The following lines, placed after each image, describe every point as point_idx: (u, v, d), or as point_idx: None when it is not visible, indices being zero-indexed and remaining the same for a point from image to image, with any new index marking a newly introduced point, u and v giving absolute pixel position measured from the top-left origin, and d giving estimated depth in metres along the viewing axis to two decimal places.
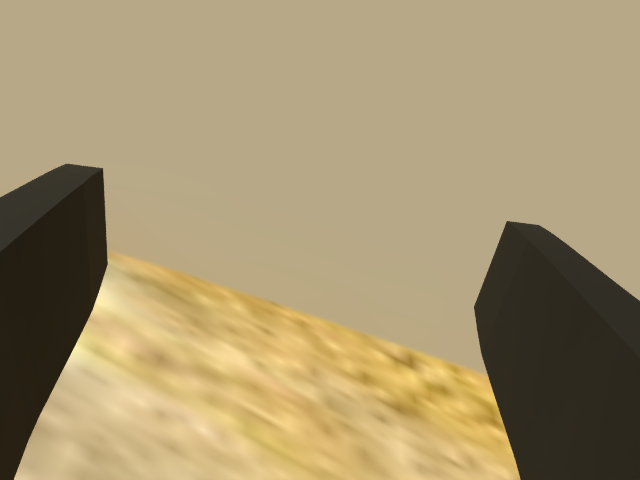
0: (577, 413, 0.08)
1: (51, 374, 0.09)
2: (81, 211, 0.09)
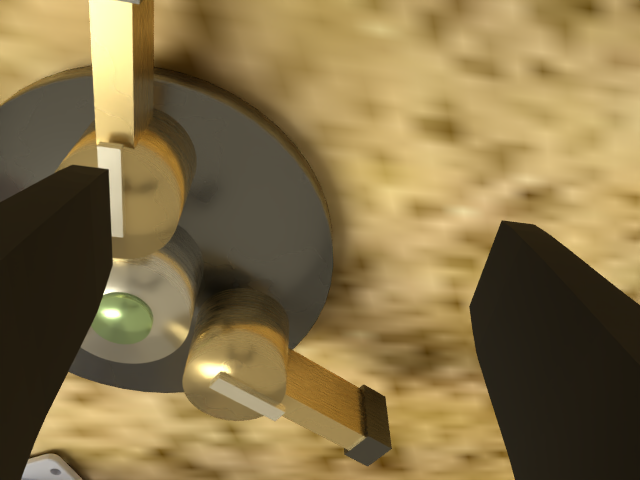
0: (570, 413, 0.08)
1: (57, 374, 0.09)
2: (87, 212, 0.09)
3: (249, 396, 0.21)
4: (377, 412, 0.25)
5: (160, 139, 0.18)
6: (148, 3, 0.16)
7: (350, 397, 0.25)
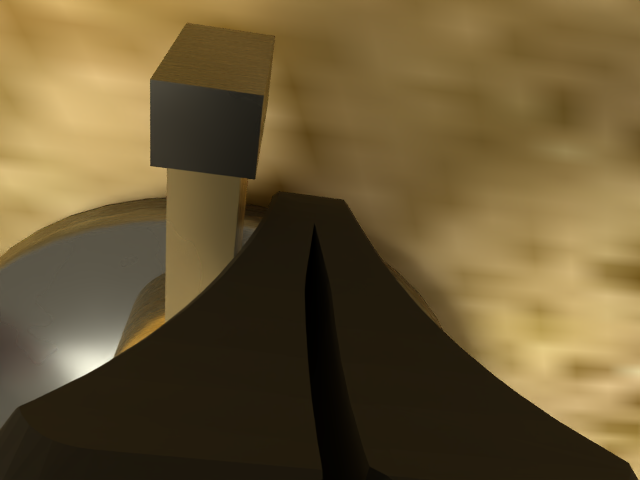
0: (315, 386, 0.08)
1: None
2: None
3: None
4: None
5: None
6: None
7: None
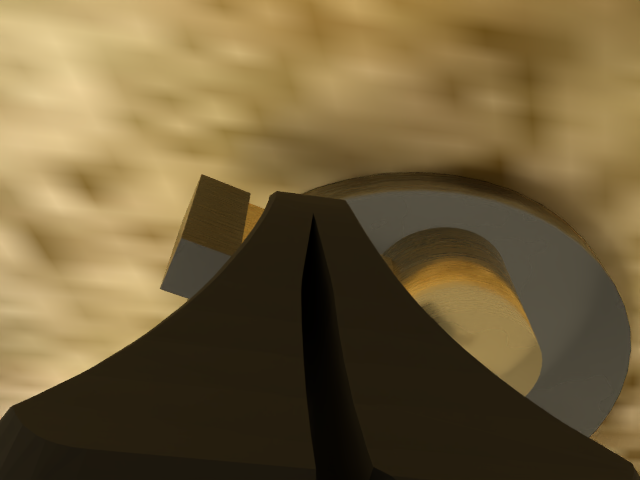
0: (317, 387, 0.08)
1: None
2: None
3: None
4: None
5: (414, 276, 0.14)
6: None
7: None
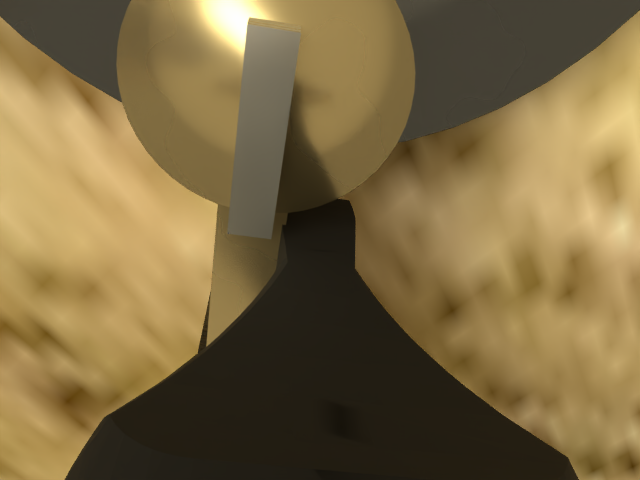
0: None
1: None
2: None
3: (272, 140, 0.08)
4: None
5: None
6: None
7: None
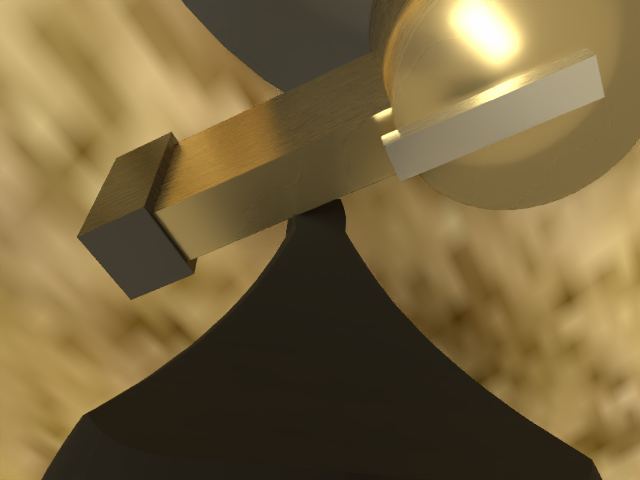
0: None
1: None
2: None
3: (497, 128, 0.08)
4: None
5: None
6: None
7: None
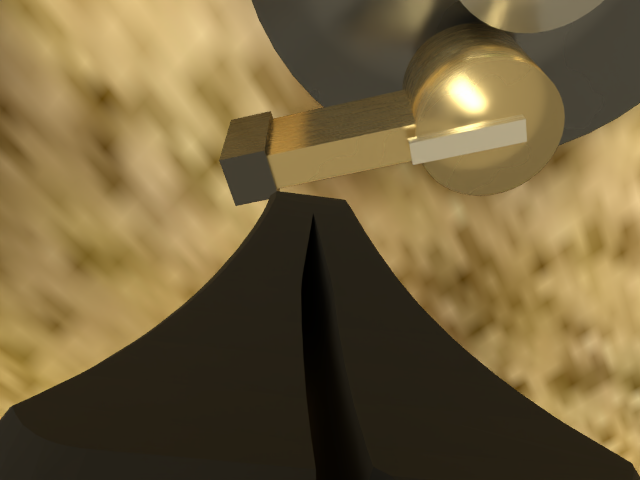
0: (317, 387, 0.08)
1: None
2: (307, 239, 0.10)
3: (470, 146, 0.15)
4: None
5: None
6: None
7: None
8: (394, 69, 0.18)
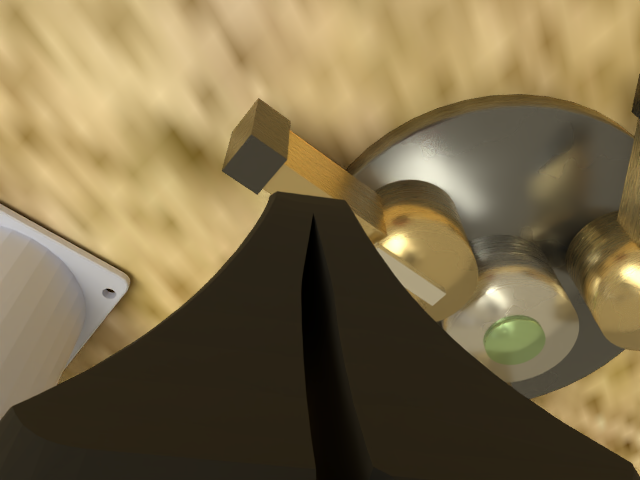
0: (317, 387, 0.08)
1: None
2: None
3: None
4: None
5: None
6: None
7: None
8: None
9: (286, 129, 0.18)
